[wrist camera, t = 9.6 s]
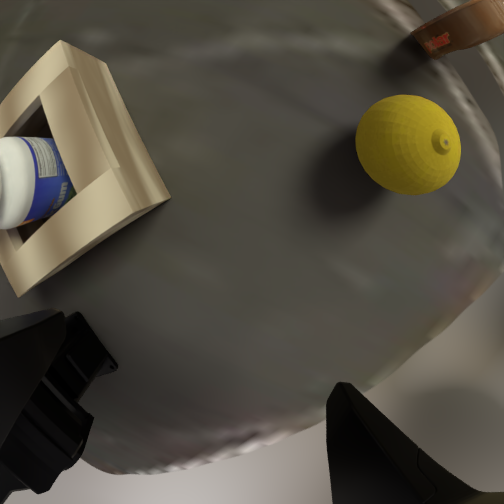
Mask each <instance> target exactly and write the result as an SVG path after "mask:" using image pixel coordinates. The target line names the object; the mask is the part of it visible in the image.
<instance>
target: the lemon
mask: <svg viewBox="0 0 504 504" xmlns="http://www.w3.org/2000/svg"><path fill="white" fill-rule="evenodd" d="M355 141H356V151H357V155H358V158H359V161H360V163H361V164H362V166H363V168H364V170H365V171H366V172H367V173H368V175H369V176H370V177H371V178H372V179H373V180H374V181H375V182H377V183H378V184H380V185H381V186H382V187H384V188H386V189H388V190H391V191H393V192H396V193H399V194H407V195H420V194H424V193H429V192H432V191H435V190H437V189H438V188H440V187H442V186H444V185H445V184H446V183H447V182H448V181H449V180H450V179H451V178H452V177H453V175H454V173H455V172H456V170H457V168H458V165H459V161H460V155H461V144H460V138H459V135H458V132H457V129H456V126H455V125H454V123H453V121H452V119H451V118H450V117H449V115H448V114H447V113H446V112H445V111H444V110H443V109H442V108H441V107H439V106H438V105H437V104H435V103H434V102H432V101H430V100H427V99H425V98H423V97H420V96H413V95H396V96H392V97H387V98H384V99H382V100H381V101H379V102H377V103H375V104H374V105H372V106H371V107H370V108H369V109H368V110H367V111H366V113H365V114H364V115H363V116H362V118H361V120H360V122H359V125H358V127H357V132H356V137H355Z"/></svg>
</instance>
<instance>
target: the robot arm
mask: <svg viewBox="0 0 504 504" xmlns="http://www.w3.org/2000/svg"><path fill="white" fill-rule="evenodd" d="M77 317H78V318H77ZM117 369H118V364H117V363H116V362H115V360H114V359H113V358H112V357H111V355H110V354H109V353H108V351H107V350H106V349H105V347H104V346H103V345H102V343H101V342H100V340H99V339H98V338H97V336H96V335H95V333H94V332H93V331H92V329H91V328H90V326H89V325H88V323H87V322H86V320H85V319H84V317H83V316H82V314H81V313H79V312H75V313H73V314H71V315H69V316H68V317H66V318H65V316H64V313H63V312H62V311H60V310H58V309H55V308H51V309H46V310H42V311H38V312H34V313H30V314H26V315H22V316H17V317H13V318H9V319H5V320H1V321H0V504H3V503H4V502H5V500H6V499H7V498H8V497H9V495H10V494H11V493H12V492H14V491H21V490H27V489H31V490H32V491H34V492H35V493H36V494H41V493H44V492H46V491H49V490H50V488H51V487H52V485H53V483H54V482H55V480H56V479H57V477H58V476H59V474H60V473H61V472H62V471H64V470H67V469H69V468H71V467H72V466H73V465H74V464H75V463H76V462H77V461H78V460H79V458H80V457H81V455H82V453H83V451H84V448H85V445H86V442H87V439H88V435H89V432H90V429H91V426H92V423H93V420H94V417H93V416H92V415H91V414H90V413H87V412H86V411H85V410H84V409H83V408H82V407H81V406H80V405H79V404H78V402H79V400H80V399H81V397H82V396H83V394H84V393H85V391H86V390H87V388H88V387H89V385H90V384H91V382H92V381H93V380H94V378H95V377H98V376H101V375H104V374H108V373H111V372H114V371H116V370H117ZM326 429H327V430H326V443H327V454H328V463H329V472H330V481H331V491H332V502H333V504H504V492H482V491H478V490H476V489H473V488H472V487H470V486H469V485H467V484H466V483H464V482H463V481H462V480H460V479H458V478H457V477H456V476H454V475H453V474H452V473H450V472H449V471H447V470H446V469H445V468H443V467H442V466H441V465H439V464H438V463H437V462H436V461H434V460H433V459H432V458H431V457H430V456H429V455H427V454H426V453H425V452H424V451H423V450H422V449H421V448H418V446H417V445H416V444H415V443H414V442H413V441H412V440H411V439H410V438H409V437H407V436H406V435H405V434H404V433H403V432H402V431H401V430H400V429H399V428H398V427H397V426H395V425H394V424H393V423H392V422H391V421H390V420H389V419H388V418H387V417H386V416H385V415H384V414H382V413H381V412H380V411H379V410H378V409H377V408H376V407H375V406H374V405H373V404H372V403H371V402H370V401H369V400H368V399H367V398H365V397H364V396H363V395H362V394H361V393H360V392H359V391H358V390H357V389H356V388H355V387H354V386H353V385H352V384H351V383H346V382H338V383H337V384H336V385H335V387H334V389H333V391H332V392H331V394H330V396H329V398H328V400H327V403H326Z"/></svg>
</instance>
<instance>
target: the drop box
mask: <svg viewBox="0 0 504 504" xmlns="http://www.w3.org/2000/svg"><path fill="white" fill-rule="evenodd" d="M4 137H37V138H54V140H55V143H56V145H57V148H58V150H59V153H60V156H61V158H62V160H63V163H64V165H65V168H66V170H67V172H68V175H69V177H70V179H71V182H72V184H73V186H74V188H75V190H76V193H77V195H76V196H75V197H74V198H72V199H71V200H70V201H69V202H68V203H67V204H65V205H64V206H63V207H62V208H61V209H60V210H59V211H57V212H56V213H55V214H54V215H52V216H49V217H46V218H42V219H39V220H36V221H33V222H29V223H26V224H23V225H20V226H17V227H14V228H11V229H0V263H1V265H2V267H3V270H4V272H5V274H6V276H7V278H8V280H9V282H10V284H11V285H12V287H13V289H14V291H15V293H16V295H17V297H18V298H19V297H20V296H22V295H23V294H25V293H26V292H28V291H29V290H31V289H32V288H34V287H35V286H37V285H38V284H40V283H42V282H43V281H45V280H46V279H48V278H49V277H51V276H53V275H54V274H56V273H57V272H59V271H60V270H62V269H64V268H65V267H66V266H68V265H69V264H70V263H72V262H73V261H74V260H76V259H77V258H79V257H80V256H81V255H83V254H84V253H86V252H87V251H89V250H90V249H91V248H93V247H94V246H96V245H97V244H99V243H100V242H102V241H103V240H105V239H106V238H108V237H109V236H111V235H112V234H114V233H115V232H117V231H118V230H120V229H121V228H123V227H124V226H126V225H127V224H129V223H131V222H132V221H134V220H135V219H137V218H139V217H140V216H142V215H143V214H145V213H147V212H148V211H150V210H152V209H153V208H155V207H156V206H158V205H160V204H161V203H163V202H165V201H167V200H168V199H170V198H171V196H170V194H169V193H168V191H167V189H166V187H165V185H164V183H163V181H162V179H161V177H160V175H159V173H158V171H157V169H156V168H155V166H154V164H153V162H152V160H151V158H150V156H149V154H148V152H147V150H146V148H145V146H144V144H143V142H142V140H141V138H140V136H139V134H138V132H137V130H136V127H135V125H134V123H133V121H132V119H131V117H130V115H129V113H128V111H127V109H126V107H125V104H124V102H123V100H122V98H121V96H120V94H119V92H118V89H117V87H116V85H115V83H114V81H113V78H112V76H111V74H110V72H109V69H108V67H107V65H106V63H104V62H102V61H100V60H98V59H97V58H95V57H93V56H91V55H89V54H87V53H85V52H83V51H81V50H79V49H78V48H76V47H74V46H72V45H70V44H68V43H66V42H63V41H61V40H59V41H58V42H57V43H56V44H55V45H54V46H53V47H52V48H51V49H50V50H49V51H47V52H46V53H45V54H44V55H43V56H42V57H41V58H40V59H39V60H38V61H37V62H36V64H35V65H34V66H33V67H32V68H31V69H30V70H29V71H28V72H27V73H26V74H25V75H24V76H23V78H22V79H21V80H20V81H19V82H18V83H17V84H16V86H15V87H14V88H13V89H12V90H11V92H10V93H9V94H8V95H7V97H6V98H5V99H4V100H3V102H2V103H1V104H0V139H1V138H4Z"/></svg>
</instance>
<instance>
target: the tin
mask: <svg viewBox="0 0 504 504" xmlns="http://www.w3.org/2000/svg"><path fill="white" fill-rule="evenodd" d="M503 33H504V0H471V1H469V2H466V3H464V4H462V5H460V6H457V7H455V8H454V9H451V10H449V11H448V12H446V13H444V14H442V15H440V16H438V17H437V18H434V19H433V20H431V21H429V22H427V23H425V24H424V25H422V26H420V27H419V28H417V29H416V30H414V31H412V32H411V35H413V36H414V37H415V38H416V39H417V41H418V42H419V43H420V45H421V46H422V47H423V49H424V50H425V51H426V53H427V54H428V55H429V56H430V57H431V58H432V59H434V60H437V59H439V58H440V57H442V56H443V55H445V54H447V53H450V52H453V51H456V50H462V49H467V48H471V47H473V46H476V45H479V44H481V43H483V42H486V41H488V40H491V39H493V38H495V37H497V36H499V35H501V34H503Z"/></svg>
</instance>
